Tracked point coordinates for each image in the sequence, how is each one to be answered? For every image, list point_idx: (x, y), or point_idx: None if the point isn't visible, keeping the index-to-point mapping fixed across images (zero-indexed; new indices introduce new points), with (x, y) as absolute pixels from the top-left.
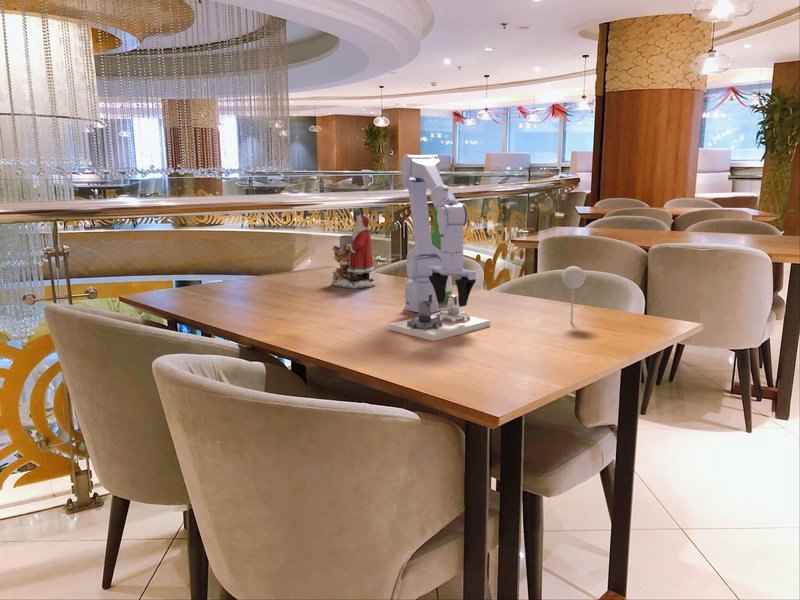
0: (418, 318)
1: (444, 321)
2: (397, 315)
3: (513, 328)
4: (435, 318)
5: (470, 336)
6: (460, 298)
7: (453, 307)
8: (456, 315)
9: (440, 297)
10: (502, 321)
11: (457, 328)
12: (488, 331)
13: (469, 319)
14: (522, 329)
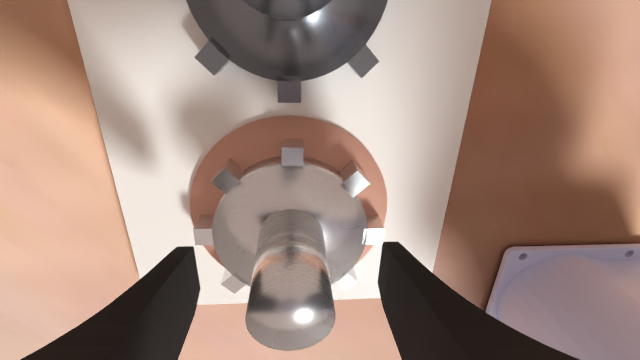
0: (378, 7)
1: (269, 140)
2: (623, 156)
3: (65, 317)
4: (291, 92)
5: (35, 89)
6: (144, 279)
7: (263, 243)
8: (245, 219)
9: (391, 274)
10: (188, 357)
11: (93, 75)
12: (78, 221)
13: (211, 253)
14: (30, 327)
